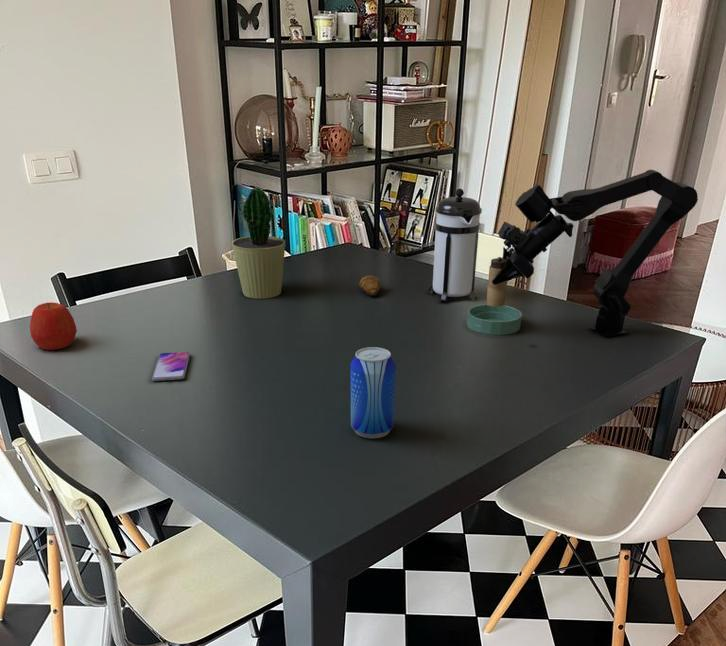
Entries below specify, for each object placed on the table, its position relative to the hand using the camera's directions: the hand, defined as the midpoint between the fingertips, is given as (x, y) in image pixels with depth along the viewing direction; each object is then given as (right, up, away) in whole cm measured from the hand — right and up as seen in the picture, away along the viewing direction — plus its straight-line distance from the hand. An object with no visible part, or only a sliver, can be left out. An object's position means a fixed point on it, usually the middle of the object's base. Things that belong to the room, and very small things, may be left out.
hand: (492, 280), depth 184 cm
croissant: (-30, +6, +36) cm, 47 cm away
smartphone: (-77, -25, -15) cm, 82 cm away
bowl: (+2, -10, +10) cm, 14 cm away
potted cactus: (-63, +6, +34) cm, 72 cm away
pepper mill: (+1, -5, +3) cm, 6 cm away
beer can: (-31, -41, -40) cm, 65 cm away
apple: (-108, -17, -3) cm, 110 cm away
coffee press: (-7, +5, +33) cm, 34 cm away
